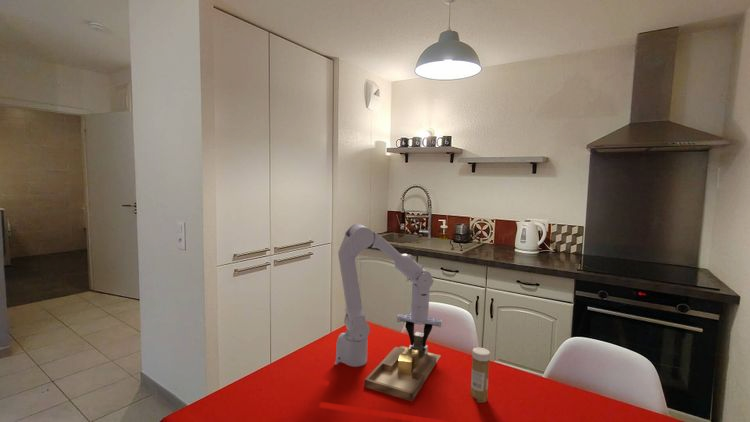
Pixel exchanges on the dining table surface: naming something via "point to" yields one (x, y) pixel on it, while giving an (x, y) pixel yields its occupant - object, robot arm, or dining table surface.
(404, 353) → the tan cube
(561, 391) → the dining table surface
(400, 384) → the slot board
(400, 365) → the golden brown cube
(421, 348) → the brushed metal block
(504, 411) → the dining table surface
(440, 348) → the dining table surface
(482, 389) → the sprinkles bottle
